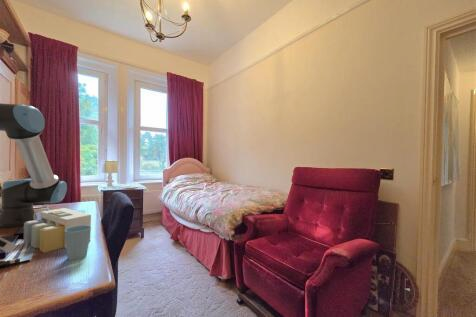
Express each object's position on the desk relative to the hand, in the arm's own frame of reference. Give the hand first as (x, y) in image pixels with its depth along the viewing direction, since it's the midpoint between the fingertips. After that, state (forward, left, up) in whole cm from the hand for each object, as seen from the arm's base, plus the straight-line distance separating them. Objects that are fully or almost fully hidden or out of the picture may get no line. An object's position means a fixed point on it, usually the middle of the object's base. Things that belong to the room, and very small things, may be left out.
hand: (12, 249), depth 75 cm
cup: (-2, +20, -4) cm, 20 cm away
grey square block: (-18, -5, -4) cm, 20 cm away
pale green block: (-14, +1, -4) cm, 15 cm away
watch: (-31, -12, -4) cm, 34 cm away
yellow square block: (-10, +7, -4) cm, 13 cm away
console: (-19, +4, -4) cm, 20 cm away
